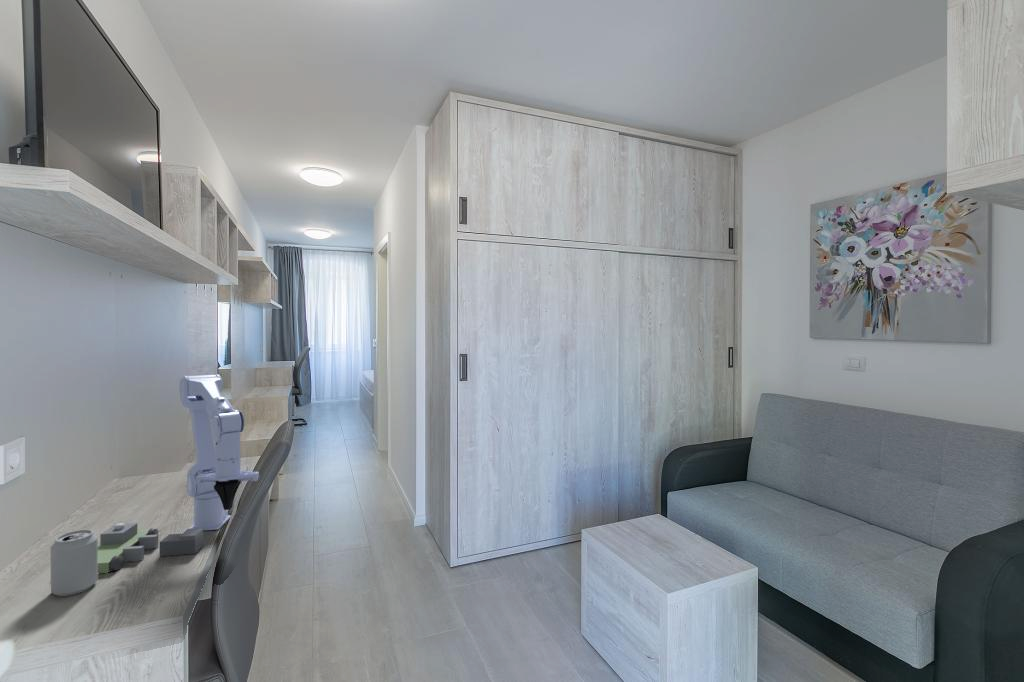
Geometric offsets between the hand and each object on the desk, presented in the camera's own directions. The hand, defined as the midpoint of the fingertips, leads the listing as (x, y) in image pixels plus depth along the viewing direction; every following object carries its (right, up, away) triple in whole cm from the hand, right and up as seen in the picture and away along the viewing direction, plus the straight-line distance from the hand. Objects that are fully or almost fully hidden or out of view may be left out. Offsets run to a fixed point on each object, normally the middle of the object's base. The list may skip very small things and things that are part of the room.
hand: (228, 508), depth 124 cm
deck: (-23, -9, -7) cm, 26 cm away
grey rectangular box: (-9, -9, -4) cm, 14 cm away
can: (-20, -10, -22) cm, 31 cm away
